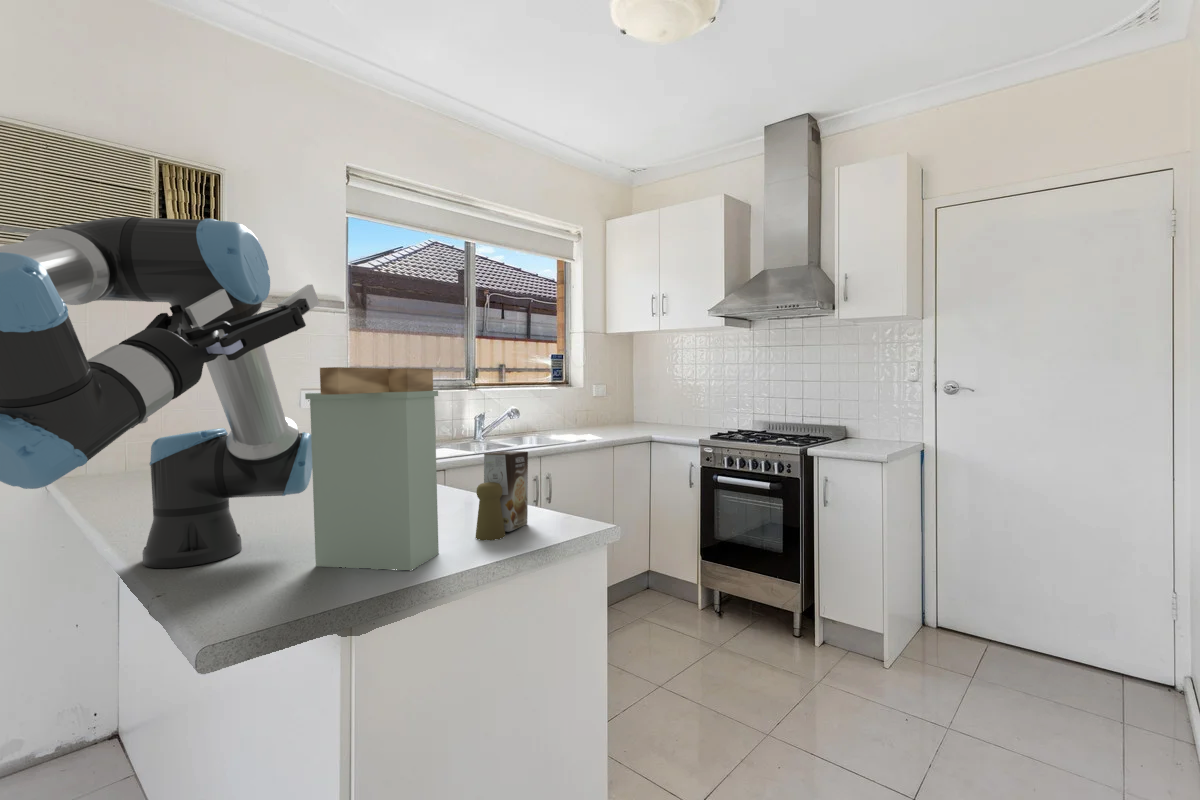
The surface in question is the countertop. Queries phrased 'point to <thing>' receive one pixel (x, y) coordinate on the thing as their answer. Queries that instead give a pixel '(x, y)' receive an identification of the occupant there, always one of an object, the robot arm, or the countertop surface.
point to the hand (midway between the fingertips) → (269, 296)
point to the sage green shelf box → (374, 479)
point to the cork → (489, 512)
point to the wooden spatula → (374, 380)
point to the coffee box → (510, 484)
